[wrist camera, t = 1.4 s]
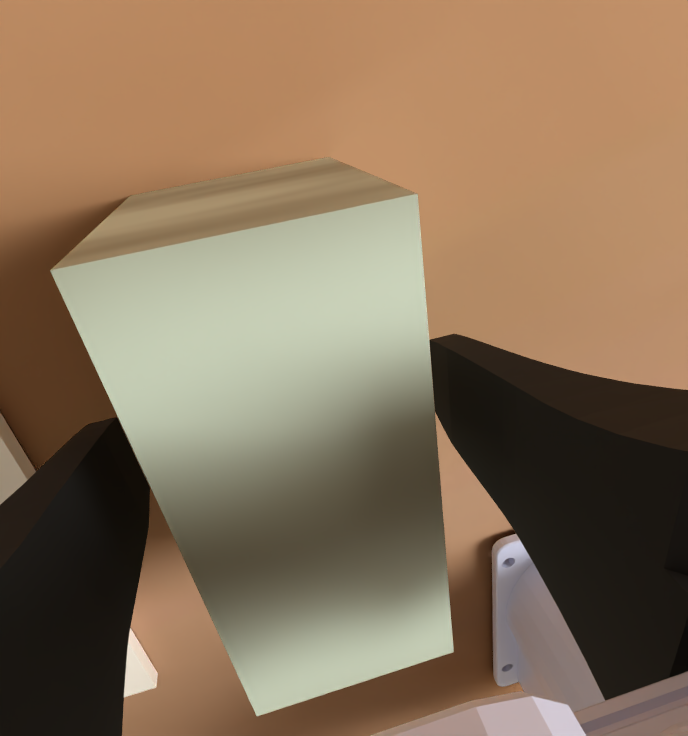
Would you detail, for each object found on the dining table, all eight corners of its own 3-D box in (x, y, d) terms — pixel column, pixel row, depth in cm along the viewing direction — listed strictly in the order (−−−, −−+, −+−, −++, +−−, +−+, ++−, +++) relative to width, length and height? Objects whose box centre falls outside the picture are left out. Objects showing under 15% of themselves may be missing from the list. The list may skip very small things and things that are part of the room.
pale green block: (379, 479, 16) (453, 652, 11) (244, 517, 16) (256, 716, 11) (328, 156, 11) (417, 193, 6) (131, 194, 11) (49, 270, 6)
